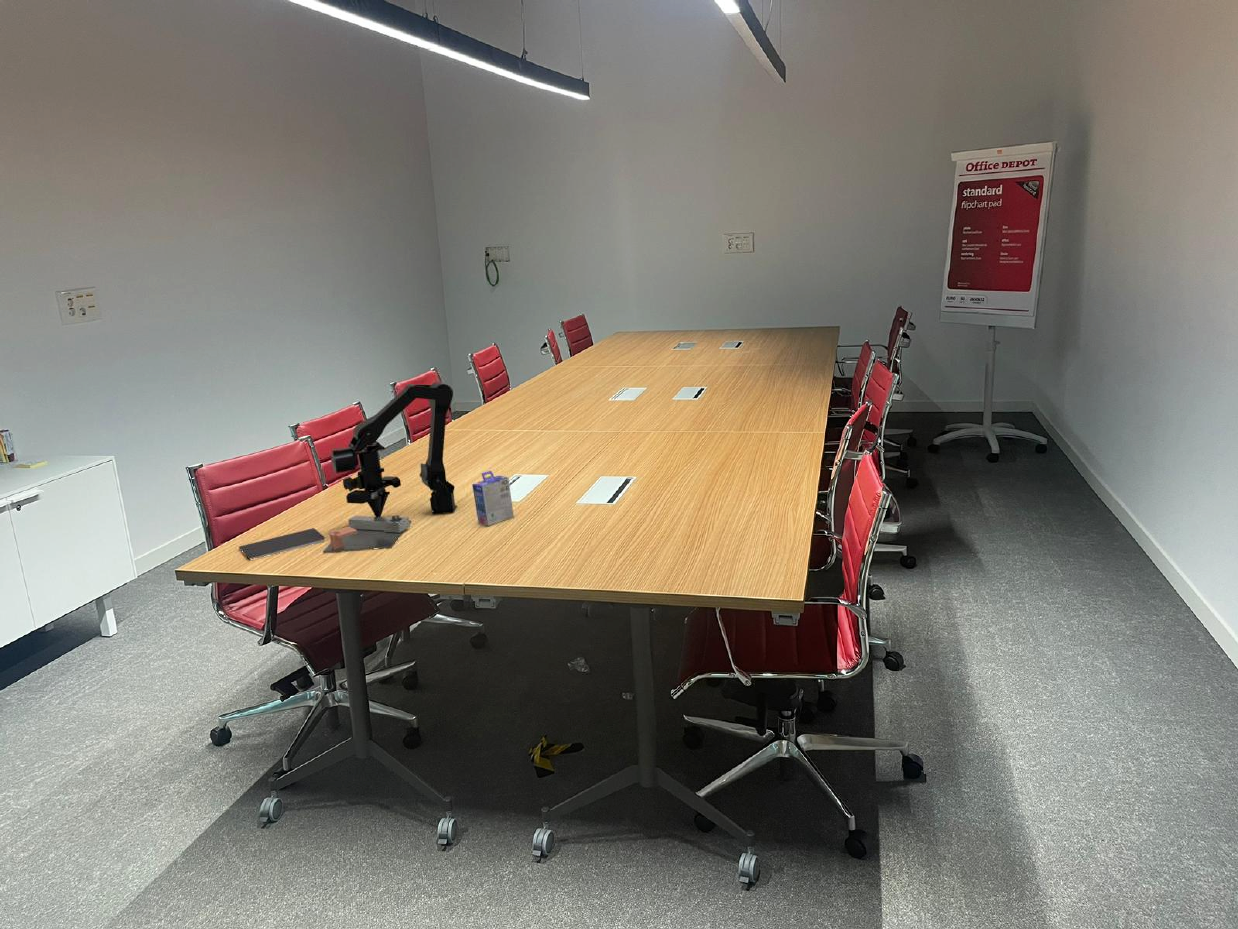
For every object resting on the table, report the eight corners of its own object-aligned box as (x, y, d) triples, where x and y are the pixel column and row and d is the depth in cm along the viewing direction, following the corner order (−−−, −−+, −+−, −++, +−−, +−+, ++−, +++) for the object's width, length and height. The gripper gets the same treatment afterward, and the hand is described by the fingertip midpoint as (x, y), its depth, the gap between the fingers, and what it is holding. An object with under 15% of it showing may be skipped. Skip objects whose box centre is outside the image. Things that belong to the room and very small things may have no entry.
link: (410, 526, 262) (408, 517, 261) (399, 532, 257) (398, 523, 257) (358, 523, 269) (357, 514, 268) (347, 529, 264) (346, 520, 264)
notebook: (314, 532, 269) (239, 551, 258) (313, 527, 268) (238, 546, 257) (326, 543, 258) (249, 563, 247) (326, 537, 258) (248, 557, 247)
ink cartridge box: (503, 514, 269) (497, 467, 265) (515, 517, 265) (509, 469, 261) (476, 523, 262) (470, 475, 258) (488, 526, 258) (481, 478, 254)
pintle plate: (411, 522, 269) (409, 507, 267) (391, 548, 247) (388, 532, 246) (349, 526, 270) (346, 512, 268) (323, 553, 248) (320, 537, 247)
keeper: (351, 542, 255) (348, 526, 254) (359, 546, 251) (357, 530, 250) (329, 548, 251) (326, 532, 250) (338, 553, 247) (335, 536, 246)
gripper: (367, 457, 275) (375, 506, 279) (327, 474, 258) (336, 526, 262) (398, 458, 270) (405, 508, 274) (358, 475, 254) (367, 528, 258)
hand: (378, 517), depth 267 cm, fingers closed
